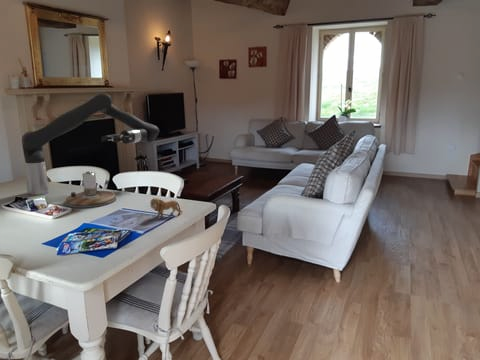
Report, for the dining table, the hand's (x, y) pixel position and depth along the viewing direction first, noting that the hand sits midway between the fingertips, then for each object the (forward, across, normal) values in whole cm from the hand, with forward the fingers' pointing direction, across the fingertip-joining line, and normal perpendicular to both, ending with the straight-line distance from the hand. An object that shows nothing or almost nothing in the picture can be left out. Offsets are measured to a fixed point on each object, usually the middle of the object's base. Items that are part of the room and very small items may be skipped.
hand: (107, 139), depth 190 cm
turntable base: (+13, 0, +30) cm, 32 cm away
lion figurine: (+13, +48, +30) cm, 58 cm away
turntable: (+13, 0, +29) cm, 31 cm away
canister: (+13, 0, +28) cm, 30 cm away
